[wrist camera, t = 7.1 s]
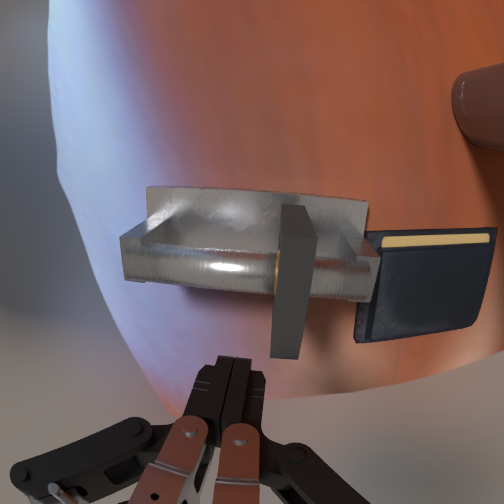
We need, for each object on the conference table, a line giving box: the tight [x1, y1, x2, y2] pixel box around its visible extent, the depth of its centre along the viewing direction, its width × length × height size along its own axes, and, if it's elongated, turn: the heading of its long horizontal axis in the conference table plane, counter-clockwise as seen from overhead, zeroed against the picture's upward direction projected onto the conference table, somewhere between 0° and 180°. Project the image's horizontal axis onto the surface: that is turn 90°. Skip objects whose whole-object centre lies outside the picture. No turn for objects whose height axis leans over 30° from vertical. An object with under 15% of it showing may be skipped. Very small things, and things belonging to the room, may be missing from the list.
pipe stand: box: [119, 186, 381, 302], centre depth 25 cm, size 22×10×10 cm, turn 87°
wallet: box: [353, 227, 498, 343], centre depth 29 cm, size 20×2×15 cm
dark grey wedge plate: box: [270, 204, 318, 360], centre depth 22 cm, size 2×9×9 cm, turn 177°
